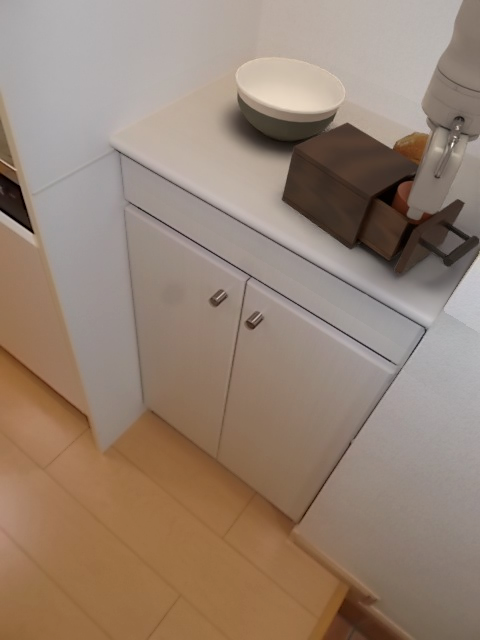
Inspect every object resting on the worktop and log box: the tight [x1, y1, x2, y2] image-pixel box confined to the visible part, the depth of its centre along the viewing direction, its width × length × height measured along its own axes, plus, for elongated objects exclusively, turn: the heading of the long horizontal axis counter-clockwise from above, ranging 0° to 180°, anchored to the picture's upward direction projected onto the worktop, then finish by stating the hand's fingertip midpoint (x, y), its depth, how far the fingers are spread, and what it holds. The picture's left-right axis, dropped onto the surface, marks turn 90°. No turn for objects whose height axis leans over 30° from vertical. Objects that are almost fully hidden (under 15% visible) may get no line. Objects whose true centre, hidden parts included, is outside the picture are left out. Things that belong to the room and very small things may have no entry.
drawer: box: [357, 176, 480, 276], centre depth 72 cm, size 17×11×7 cm, turn 44°
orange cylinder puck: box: [391, 181, 440, 225], centre depth 69 cm, size 6×6×3 cm
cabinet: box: [281, 122, 419, 250], centre depth 76 cm, size 14×12×9 cm
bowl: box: [234, 56, 347, 142], centre depth 90 cm, size 19×19×8 cm
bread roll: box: [392, 131, 429, 165], centre depth 87 cm, size 10×10×8 cm
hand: (418, 200), depth 69 cm, fingers closed on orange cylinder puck, 6 cm apart
